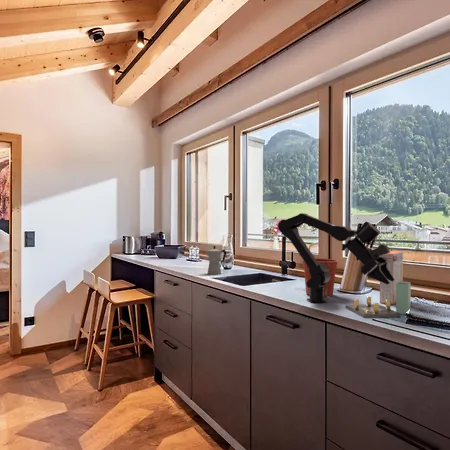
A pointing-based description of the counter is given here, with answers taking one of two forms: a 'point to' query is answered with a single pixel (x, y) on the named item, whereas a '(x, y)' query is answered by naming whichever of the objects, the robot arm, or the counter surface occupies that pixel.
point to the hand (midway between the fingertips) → (391, 282)
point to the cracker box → (396, 271)
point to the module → (403, 297)
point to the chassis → (372, 309)
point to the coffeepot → (215, 260)
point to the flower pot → (332, 267)
